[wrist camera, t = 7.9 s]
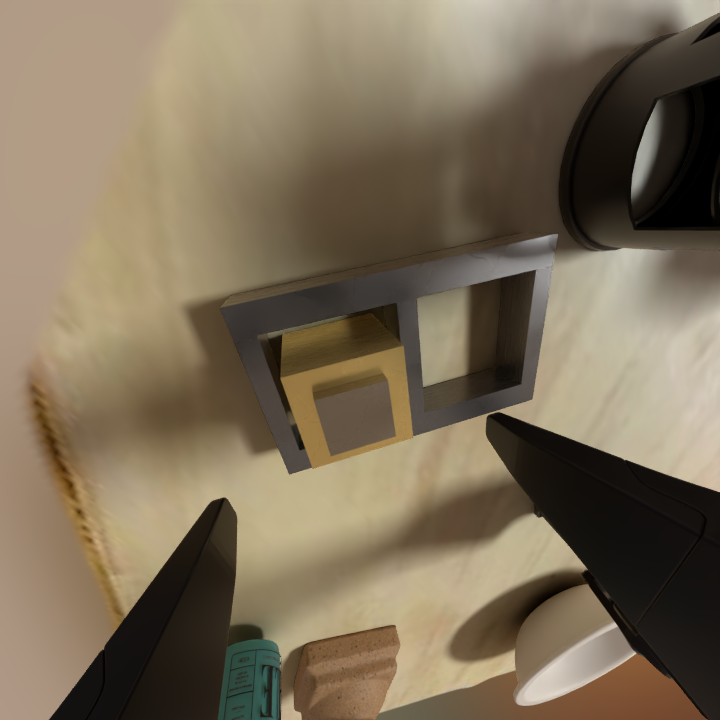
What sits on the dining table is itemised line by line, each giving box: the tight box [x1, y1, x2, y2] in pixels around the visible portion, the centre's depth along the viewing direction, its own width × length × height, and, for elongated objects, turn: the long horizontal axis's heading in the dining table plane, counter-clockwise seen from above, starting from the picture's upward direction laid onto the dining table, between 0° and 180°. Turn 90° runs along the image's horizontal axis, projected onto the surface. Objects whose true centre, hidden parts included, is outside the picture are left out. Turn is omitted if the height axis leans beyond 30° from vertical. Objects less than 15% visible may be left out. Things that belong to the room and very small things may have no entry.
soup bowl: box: [513, 584, 636, 706], centre depth 39 cm, size 24×24×7 cm
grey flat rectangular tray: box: [220, 233, 558, 474], centre depth 16 cm, size 16×10×2 cm, turn 100°
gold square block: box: [280, 313, 413, 469], centre depth 14 cm, size 5×5×6 cm
